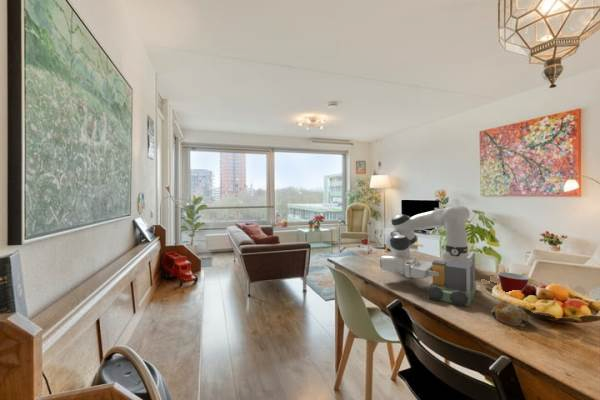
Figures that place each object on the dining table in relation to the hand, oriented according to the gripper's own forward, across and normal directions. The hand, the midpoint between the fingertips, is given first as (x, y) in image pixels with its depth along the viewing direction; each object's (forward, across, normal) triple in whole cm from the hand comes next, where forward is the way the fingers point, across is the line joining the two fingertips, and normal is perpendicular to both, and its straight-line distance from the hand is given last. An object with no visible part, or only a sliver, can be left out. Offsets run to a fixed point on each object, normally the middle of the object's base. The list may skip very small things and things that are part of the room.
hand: (441, 271), depth 127 cm
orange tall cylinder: (-1, 0, -10) cm, 10 cm away
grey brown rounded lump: (+25, +17, -10) cm, 32 cm away
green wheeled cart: (+4, 0, -10) cm, 10 cm away
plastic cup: (+26, -4, -10) cm, 28 cm away
